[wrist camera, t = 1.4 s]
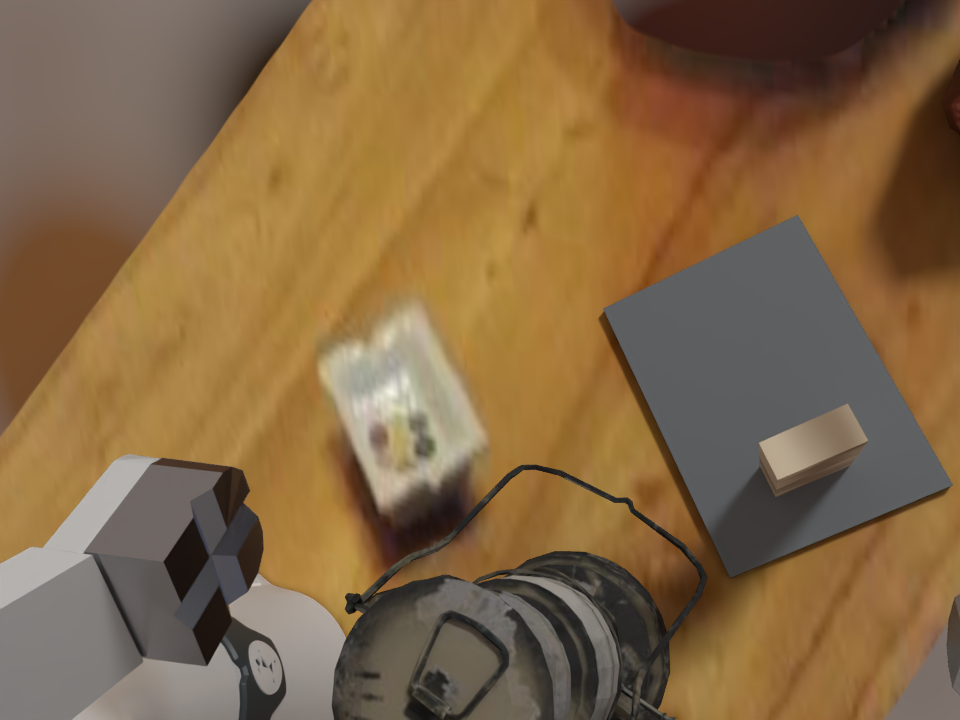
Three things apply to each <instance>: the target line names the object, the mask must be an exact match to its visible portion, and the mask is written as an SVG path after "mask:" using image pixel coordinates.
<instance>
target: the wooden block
mask: <svg viewBox="0 0 960 720" xmlns="http://www.w3.org/2000/svg"><path fill="white" fill-rule="evenodd" d="M867 442H868V439H867V438H866V436H865V434H864V432H863V430H862V428H861V427H860V425H859V423H858V421H857V419H856V418H855V416H854V414H853V412H852V410H851V409H850V407H849V405H848V404H846V405H843V406H841V407H839V408H837V409H834V410H832V411H830V412H827V413H825V414H823V415H821V416H818V417H816V418H814V419H812V420H809V421H807V422H805V423H802V424H800V425H798V426H796V427H793V428H791V429H789V430H787V431H784V432H782V433H780V434H778V435H775V436H773V437H771V438H768V439H766V440H764V441H762V442H759V460H760V468H761V470H762V472H763V474H764V476H765V478H766V480H767V482H768V484H769V486H770V488H771V490H772V492H773V494H774V496H775V498H776V497H778V496H780V495H783V494H785V493H787V492H790V491H792V490H794V489H797V488H799V487H801V486H804V485H806V484H808V483H811V482H813V481H815V480H818V479H820V478H822V477H825V476H827V475H829V474H832V473H834V472H836V471H839V470H841V469H843V468H846V467H848V466H850V465H851V464H852V462H853V461H854V460H855V458H856V457H857V456H858V454H859V453H860V452H861V450H862V449H863V447H864V446H865V445H866V443H867Z"/></svg>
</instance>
